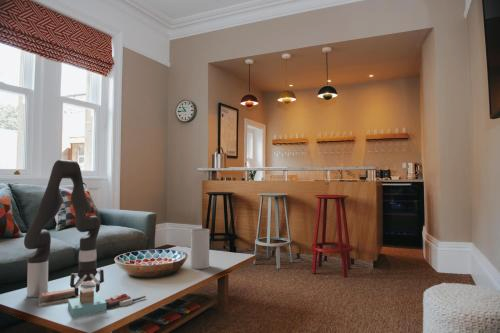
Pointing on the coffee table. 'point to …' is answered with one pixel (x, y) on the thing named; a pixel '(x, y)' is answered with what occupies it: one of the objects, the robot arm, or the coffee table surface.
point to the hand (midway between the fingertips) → (87, 293)
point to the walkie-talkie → (120, 300)
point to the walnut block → (86, 295)
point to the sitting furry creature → (88, 283)
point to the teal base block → (86, 306)
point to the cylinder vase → (199, 248)
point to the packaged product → (56, 297)
